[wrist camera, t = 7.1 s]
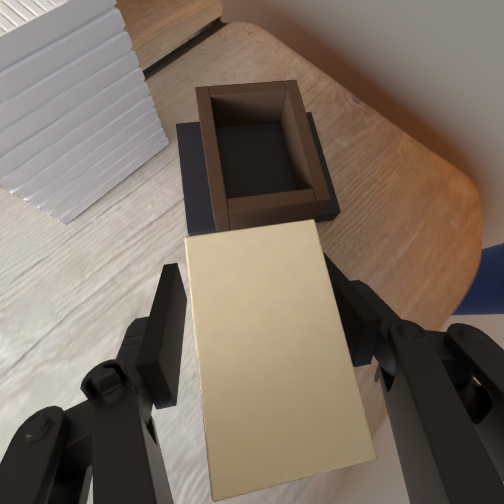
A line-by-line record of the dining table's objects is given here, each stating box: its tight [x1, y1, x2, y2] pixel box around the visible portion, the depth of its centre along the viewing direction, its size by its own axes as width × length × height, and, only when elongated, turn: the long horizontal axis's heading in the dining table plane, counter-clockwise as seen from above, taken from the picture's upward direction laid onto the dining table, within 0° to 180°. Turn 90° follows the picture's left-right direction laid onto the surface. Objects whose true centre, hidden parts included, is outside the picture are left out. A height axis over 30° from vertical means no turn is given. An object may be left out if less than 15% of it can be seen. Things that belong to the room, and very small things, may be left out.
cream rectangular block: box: [185, 219, 377, 502], centre depth 12 cm, size 4×7×11 cm, turn 10°
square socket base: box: [176, 80, 341, 236], centre depth 19 cm, size 12×10×4 cm
